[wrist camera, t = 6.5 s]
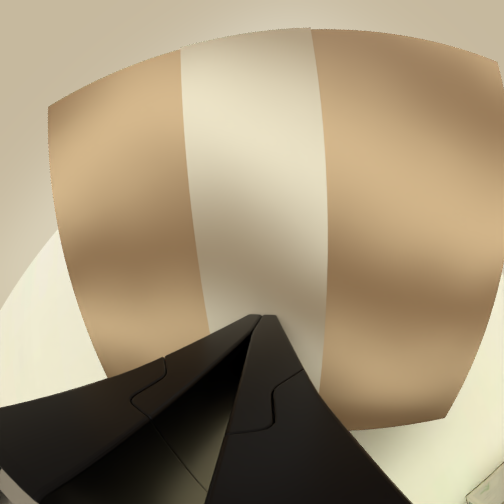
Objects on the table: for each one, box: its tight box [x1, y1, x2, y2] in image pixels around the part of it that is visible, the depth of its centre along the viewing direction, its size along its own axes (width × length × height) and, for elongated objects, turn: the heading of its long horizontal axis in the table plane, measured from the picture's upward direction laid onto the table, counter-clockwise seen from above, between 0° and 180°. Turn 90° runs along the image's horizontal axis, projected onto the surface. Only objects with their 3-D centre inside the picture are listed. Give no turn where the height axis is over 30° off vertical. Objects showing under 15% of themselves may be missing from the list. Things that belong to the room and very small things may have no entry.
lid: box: [48, 28, 504, 430], centre depth 8 cm, size 14×16×1 cm
